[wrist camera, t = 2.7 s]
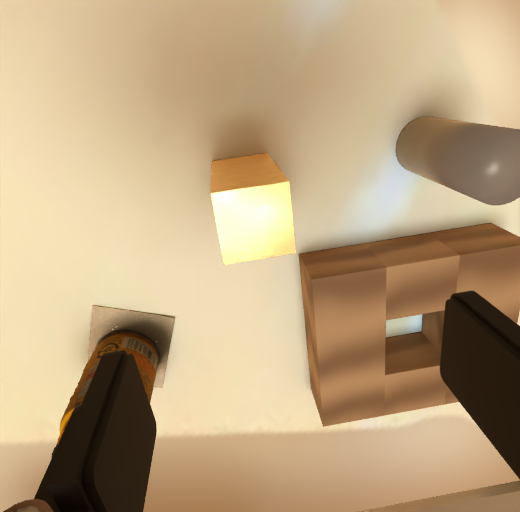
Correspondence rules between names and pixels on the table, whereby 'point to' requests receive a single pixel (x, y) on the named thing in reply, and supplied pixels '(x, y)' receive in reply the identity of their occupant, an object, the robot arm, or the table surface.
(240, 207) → the square peg
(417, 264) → the socket block
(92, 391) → the robot arm
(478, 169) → the round peg
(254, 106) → the table surface
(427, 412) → the table surface
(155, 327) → the condiment
